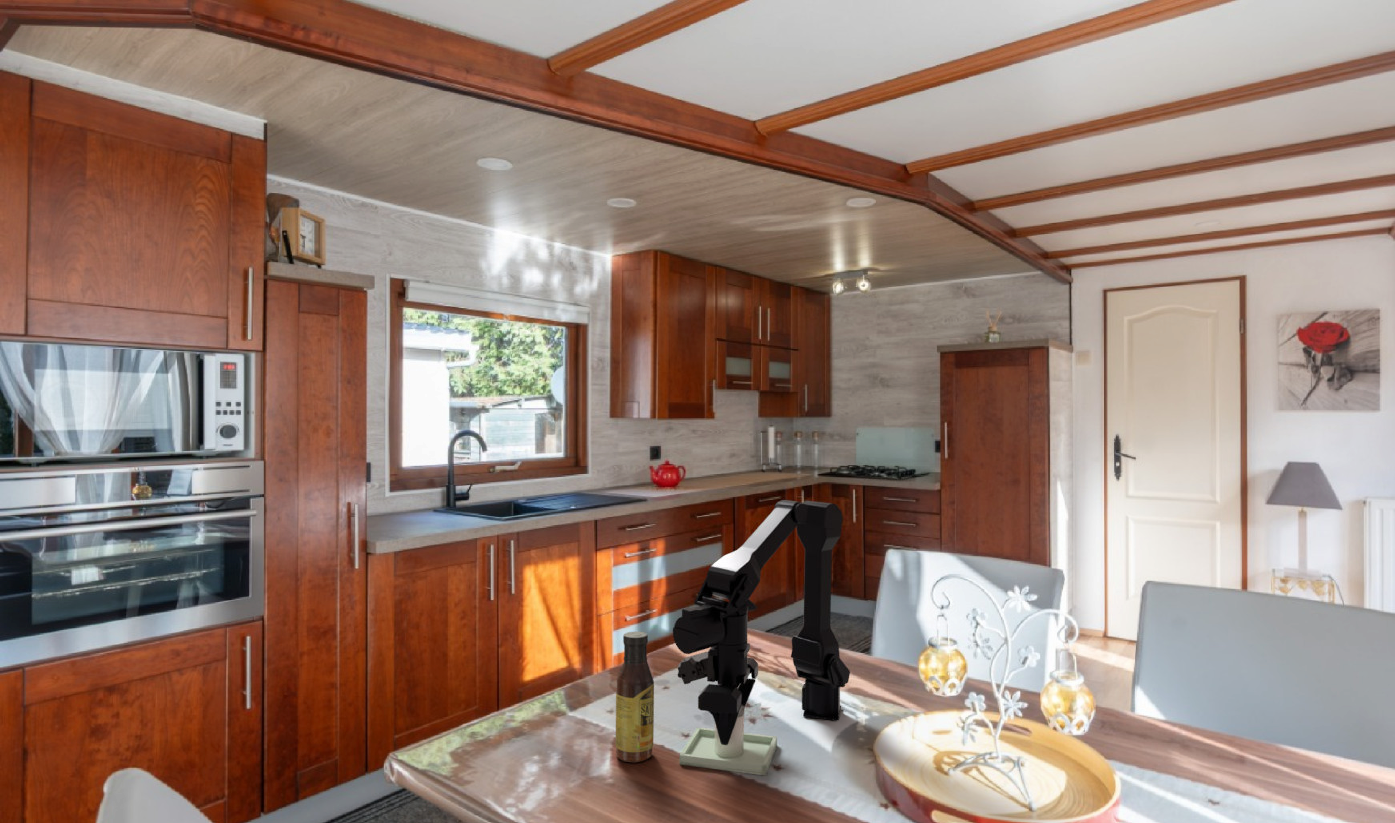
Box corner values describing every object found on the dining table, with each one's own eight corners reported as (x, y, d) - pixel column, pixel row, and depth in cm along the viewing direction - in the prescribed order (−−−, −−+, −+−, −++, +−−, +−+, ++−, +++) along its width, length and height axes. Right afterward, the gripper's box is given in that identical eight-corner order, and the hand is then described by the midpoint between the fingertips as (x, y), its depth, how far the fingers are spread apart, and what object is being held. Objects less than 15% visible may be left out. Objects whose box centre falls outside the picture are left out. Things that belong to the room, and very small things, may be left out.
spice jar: (747, 746, 127) (747, 703, 127) (740, 759, 122) (741, 714, 122) (718, 743, 128) (718, 699, 128) (710, 756, 123) (710, 711, 123)
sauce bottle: (647, 766, 121) (648, 641, 121) (610, 762, 122) (610, 639, 122) (658, 748, 127) (658, 630, 127) (622, 744, 129) (622, 627, 128)
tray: (777, 745, 129) (777, 736, 129) (765, 775, 118) (765, 765, 118) (697, 735, 132) (697, 727, 132) (679, 764, 122) (679, 754, 122)
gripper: (697, 621, 136) (697, 707, 136) (666, 653, 118) (666, 753, 118) (758, 626, 133) (758, 714, 133) (736, 659, 115) (736, 762, 115)
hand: (729, 734), depth 125 cm, fingers open, 7 cm apart
